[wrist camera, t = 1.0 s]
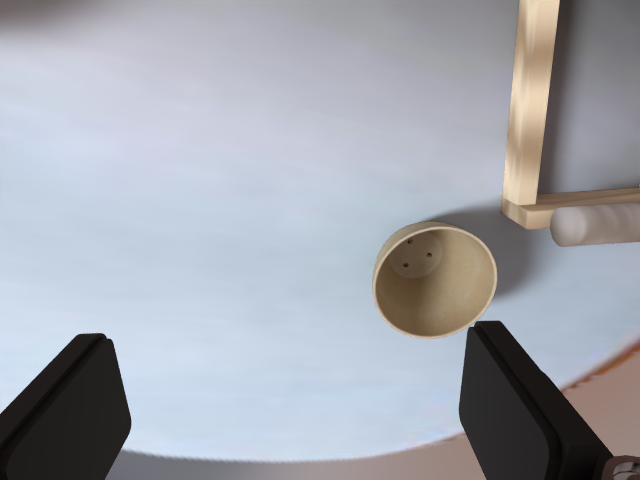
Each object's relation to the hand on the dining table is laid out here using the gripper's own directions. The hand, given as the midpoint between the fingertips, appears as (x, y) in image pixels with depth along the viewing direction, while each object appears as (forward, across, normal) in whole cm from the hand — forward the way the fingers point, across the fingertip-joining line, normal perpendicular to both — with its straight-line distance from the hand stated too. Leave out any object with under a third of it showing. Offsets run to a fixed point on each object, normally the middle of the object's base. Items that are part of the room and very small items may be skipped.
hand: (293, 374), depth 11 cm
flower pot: (+28, -10, +8) cm, 30 cm away
